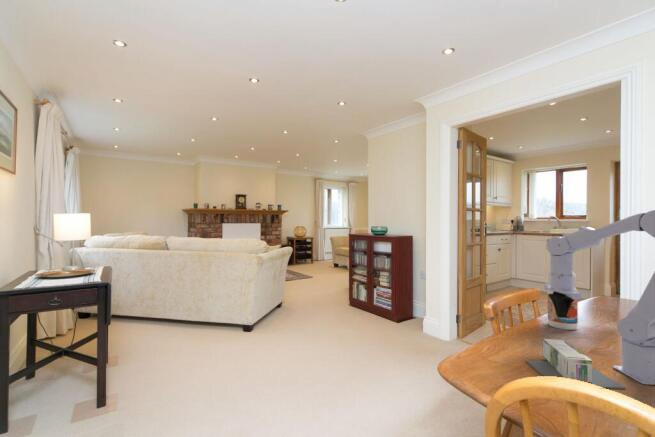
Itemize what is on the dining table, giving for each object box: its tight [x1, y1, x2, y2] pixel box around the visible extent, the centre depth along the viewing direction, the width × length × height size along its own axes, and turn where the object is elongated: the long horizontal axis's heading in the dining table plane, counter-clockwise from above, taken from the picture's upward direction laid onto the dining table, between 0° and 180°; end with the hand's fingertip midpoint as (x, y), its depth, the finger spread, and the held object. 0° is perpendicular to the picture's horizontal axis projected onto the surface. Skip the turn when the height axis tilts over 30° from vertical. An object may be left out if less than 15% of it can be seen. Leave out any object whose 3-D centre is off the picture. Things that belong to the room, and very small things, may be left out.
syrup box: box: [542, 338, 593, 382], centre depth 87 cm, size 6×6×14 cm
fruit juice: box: [547, 271, 579, 331], centre depth 124 cm, size 9×9×28 cm
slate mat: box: [525, 359, 626, 390], centre depth 85 cm, size 14×16×1 cm
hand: (561, 317), depth 102 cm, fingers closed
